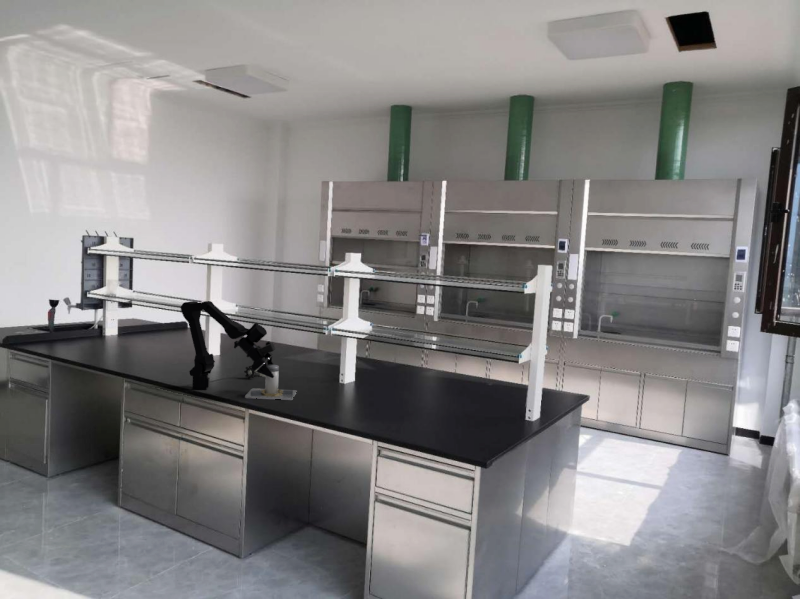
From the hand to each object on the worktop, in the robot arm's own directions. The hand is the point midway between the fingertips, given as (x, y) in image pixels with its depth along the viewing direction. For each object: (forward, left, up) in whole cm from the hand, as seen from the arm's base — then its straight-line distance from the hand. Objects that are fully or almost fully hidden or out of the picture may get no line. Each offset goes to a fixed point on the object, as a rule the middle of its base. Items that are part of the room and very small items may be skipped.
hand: (275, 375), depth 274 cm
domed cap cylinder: (-1, 0, -8) cm, 8 cm away
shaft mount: (-1, 0, -9) cm, 9 cm away
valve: (-10, +36, -9) cm, 39 cm away
